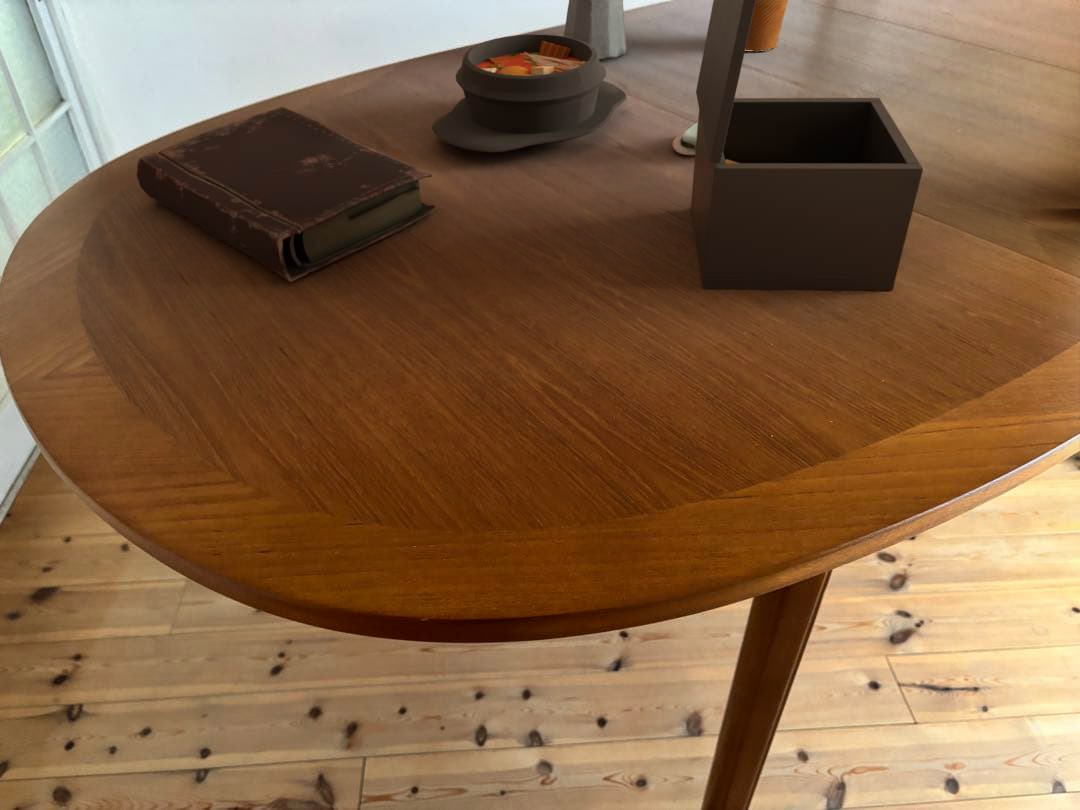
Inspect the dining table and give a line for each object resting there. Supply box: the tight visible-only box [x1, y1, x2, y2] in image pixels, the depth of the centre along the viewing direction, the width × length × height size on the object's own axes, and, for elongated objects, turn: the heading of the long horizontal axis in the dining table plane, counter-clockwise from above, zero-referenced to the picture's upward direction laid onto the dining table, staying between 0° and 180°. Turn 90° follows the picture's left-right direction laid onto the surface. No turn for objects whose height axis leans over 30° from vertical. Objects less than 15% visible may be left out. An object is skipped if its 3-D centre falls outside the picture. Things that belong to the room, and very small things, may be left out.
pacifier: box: [672, 121, 698, 156], centre depth 99 cm, size 7×6×6 cm
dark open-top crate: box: [690, 97, 924, 292], centre depth 80 cm, size 16×15×11 cm
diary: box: [136, 106, 436, 283], centre depth 91 cm, size 19×25×5 cm
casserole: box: [431, 34, 627, 154], centre depth 105 cm, size 25×19×8 cm
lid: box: [695, 0, 756, 163], centre depth 72 cm, size 17×15×1 cm
